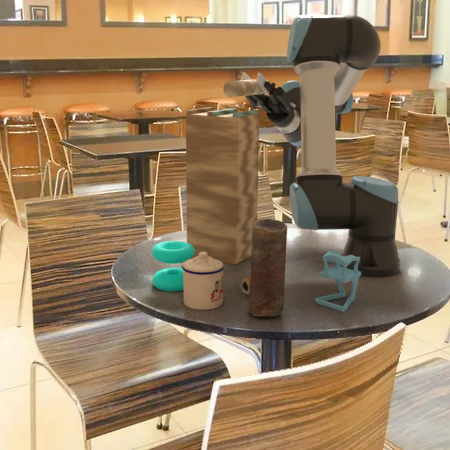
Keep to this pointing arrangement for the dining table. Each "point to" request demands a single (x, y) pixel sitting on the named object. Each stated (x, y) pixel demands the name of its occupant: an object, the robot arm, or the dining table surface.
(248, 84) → the cream rounded cylinder
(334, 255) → the chair
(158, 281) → the donuts
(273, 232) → the brown upright cylinder
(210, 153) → the tall wooden crate
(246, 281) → the pastry
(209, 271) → the teacup with lid
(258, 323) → the dining table surface
